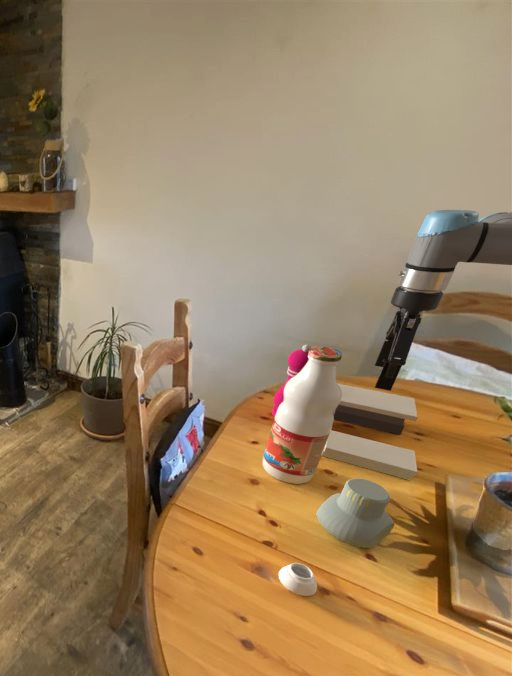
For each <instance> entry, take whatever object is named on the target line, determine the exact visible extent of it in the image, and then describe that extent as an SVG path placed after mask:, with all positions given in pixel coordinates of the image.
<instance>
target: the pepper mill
mask: <svg viewBox="0 0 512 676" xmlns="http://www.w3.org/2000/svg"><path fill="white" fill-rule="evenodd" d="M311 348H312V346H311V345H310V344H304V345H303V346H302V348H301V349H297V350H294V351H292V352H291V353H290V354H289V356H288V359H287V364H288V365H289V366H288V367H287V371H286V374H287V378H286V380H285V383H284V384H283V385H282V386H281V387H280V388H279V389H278V390H277V392H276V393H275V395H274V397H273V398H272V399H273V404H274V406H273V407H272V410H271V411H272V412H271V415H272V416H273V417H274V418H275V415H276V412H277V409H278V407H279V405H280V404H281V403H282V402H283V401H284V388H285V385H286V383H287V382H288V381H289V380H290V379H291V378H293V377H294V376H296V375H297V374H298V373H299V372H300V371H301V370H302V369H303V368H304V366H305V365H306V364H307V362H308V360H309V358H308V353H309V351H310V349H311Z"/></svg>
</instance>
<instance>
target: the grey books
mask: <svg viewBox="0 0 512 676" xmlns="http://www.w3.org/2000/svg"><path fill="white" fill-rule="evenodd" d="M333 415H334V421H339V422H342V423H343V422H344V423H348V424H352V425H356V426H361V427H365V428H369V429H374V430H377V431H382V432H386V433H390V434H394V435H399V436H401V435H402V433H403V432H404V429H405V427H406V425H405V420H406V419H403V418H398V417H393V416H389V415H384V414H380V413H375V412H370V411H366V410H361V409H357V408H352V407H347V406H343V405H338V407H337V408H336V409H335V410H334V412H333Z"/></svg>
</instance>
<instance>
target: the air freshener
mask: <svg viewBox="0 0 512 676" xmlns="http://www.w3.org/2000/svg"><path fill="white" fill-rule="evenodd" d="M390 500H391V495H390V493H389V492H388V491H387V490H386V488H384V487H383V486H382V485H380V484H378V483H376V482H374V481H372V480H369V479H364V478H351V479H348V480H346V482H345V483H344V485H343V488H342V490H341V492H338V493H335V494H332V495H330V496H329V497H328V498H327V499H326V500H325V501H324V502H323V503H322V504H321V505H320V506H319V507H318V508H317V510H316V513H315V516H316V518H317V520H318V522H319V523H320V525H321V526H322V527H323V529H324V530H325V531H327V532H328V533H329V534H330V535H331V536H333V537H334V538H336V539H338V540H339V541H341V542H344V543H346V544H349V545H351V546H354V547H359V548H364V549H373V548H374V547H376V546H378V545H379V544H380V543H381V542H382V541H383V540H385V538H386V537H387V536H389V534H390V533H391V531H392V530H393V528H394V526H395V521H394V520H393V519H392V516H390V515H389V513H388V512H387V511H386V508H387V507H388V504H389V502H390Z"/></svg>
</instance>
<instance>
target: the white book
mask: <svg viewBox="0 0 512 676" xmlns="http://www.w3.org/2000/svg"><path fill="white" fill-rule="evenodd" d="M338 385H339V386H340V388H341V391H342V398H341V402H340V404H339V405H343V406H347V407H352V408H357V409H361V410H366V411H370V412H375V413H380V414H384V415H389V416H393V417H398V418H403V419H405V420H407V421H412V422H416V421H417V420H418V412H417V405H416V399H415V398H414V397H409V396H404V395H399V394H393V393H389V392H383V391H378V390H373V389H368V388H363V387H358V386H353V385H348V384H342V383H338Z"/></svg>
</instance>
